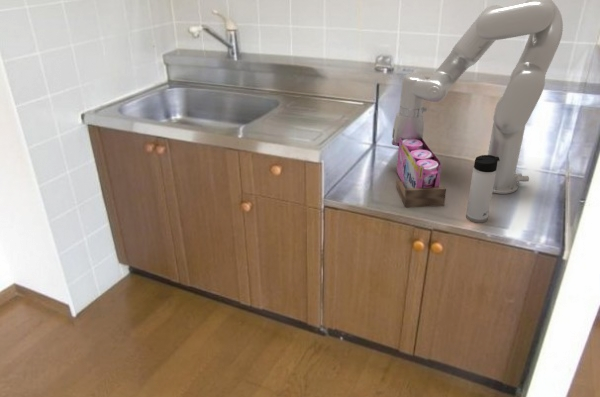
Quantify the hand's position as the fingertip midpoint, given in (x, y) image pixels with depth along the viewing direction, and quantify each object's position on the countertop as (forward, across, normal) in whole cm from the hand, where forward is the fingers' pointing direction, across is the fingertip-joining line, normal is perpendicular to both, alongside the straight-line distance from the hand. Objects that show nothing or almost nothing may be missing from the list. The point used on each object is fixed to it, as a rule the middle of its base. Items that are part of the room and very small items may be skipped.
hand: (405, 159), depth 177 cm
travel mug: (+4, -15, +34) cm, 37 cm away
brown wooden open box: (+4, -1, +19) cm, 19 cm away
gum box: (+4, -2, +13) cm, 13 cm away
